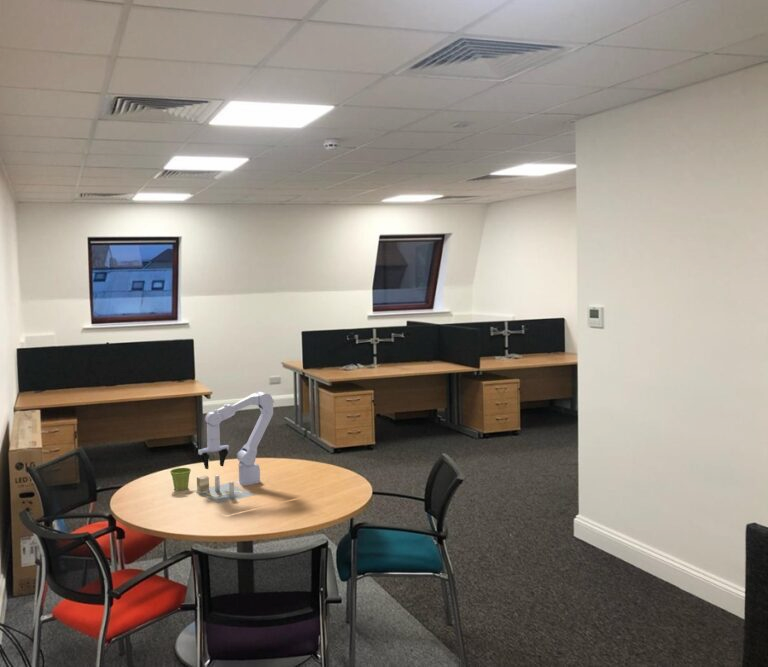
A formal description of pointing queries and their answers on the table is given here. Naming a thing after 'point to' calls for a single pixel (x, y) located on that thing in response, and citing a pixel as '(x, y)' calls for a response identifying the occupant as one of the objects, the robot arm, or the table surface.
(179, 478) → the plant pot
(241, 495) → the board
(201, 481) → the block
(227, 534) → the table surface
